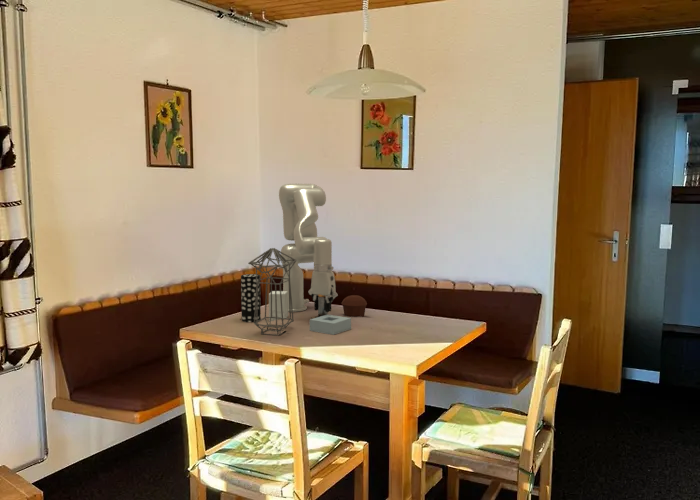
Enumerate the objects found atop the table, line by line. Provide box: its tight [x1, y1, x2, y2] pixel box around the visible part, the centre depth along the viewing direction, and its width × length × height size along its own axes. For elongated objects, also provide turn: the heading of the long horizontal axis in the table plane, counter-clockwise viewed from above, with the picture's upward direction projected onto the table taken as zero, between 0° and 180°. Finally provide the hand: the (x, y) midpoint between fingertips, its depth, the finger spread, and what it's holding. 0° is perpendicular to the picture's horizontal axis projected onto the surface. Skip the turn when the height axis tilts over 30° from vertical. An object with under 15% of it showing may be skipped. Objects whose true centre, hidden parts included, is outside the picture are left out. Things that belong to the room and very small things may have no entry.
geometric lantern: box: [248, 247, 297, 337], centre depth 261 cm, size 16×16×35 cm
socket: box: [309, 313, 352, 336], centre depth 262 cm, size 12×12×6 cm
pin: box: [317, 294, 329, 317], centre depth 274 cm, size 4×4×14 cm
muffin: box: [341, 294, 368, 318], centre depth 292 cm, size 12×11×10 cm
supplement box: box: [268, 290, 289, 323], centre depth 286 cm, size 7×7×13 cm
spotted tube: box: [240, 273, 262, 323], centre depth 285 cm, size 8×8×20 cm
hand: (322, 310), depth 274 cm, fingers open, 5 cm apart
